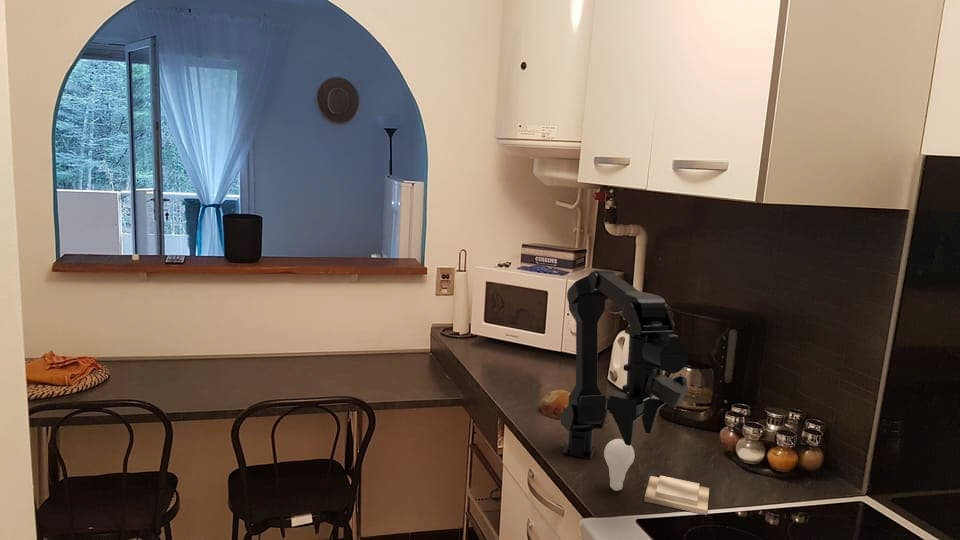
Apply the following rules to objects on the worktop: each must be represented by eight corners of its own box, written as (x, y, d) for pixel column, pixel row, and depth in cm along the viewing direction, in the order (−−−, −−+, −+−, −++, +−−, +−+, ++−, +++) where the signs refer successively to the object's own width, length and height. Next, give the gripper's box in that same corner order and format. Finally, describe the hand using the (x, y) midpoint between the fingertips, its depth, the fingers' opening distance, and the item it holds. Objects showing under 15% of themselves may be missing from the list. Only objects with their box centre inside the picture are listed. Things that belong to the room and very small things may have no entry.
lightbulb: (626, 483, 142) (631, 434, 141) (634, 498, 136) (639, 447, 135) (598, 482, 142) (602, 433, 140) (604, 497, 136) (609, 445, 134)
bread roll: (570, 420, 186) (567, 390, 188) (587, 417, 176) (583, 386, 179) (537, 422, 183) (534, 392, 185) (552, 420, 173) (549, 388, 175)
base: (650, 480, 145) (650, 471, 144) (708, 492, 141) (709, 483, 140) (644, 501, 135) (645, 491, 135) (706, 515, 131) (707, 505, 131)
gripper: (664, 376, 118) (658, 463, 120) (701, 359, 133) (696, 436, 134) (606, 365, 125) (601, 447, 126) (647, 350, 140) (643, 424, 141)
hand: (638, 438), depth 132 cm, fingers open, 9 cm apart
